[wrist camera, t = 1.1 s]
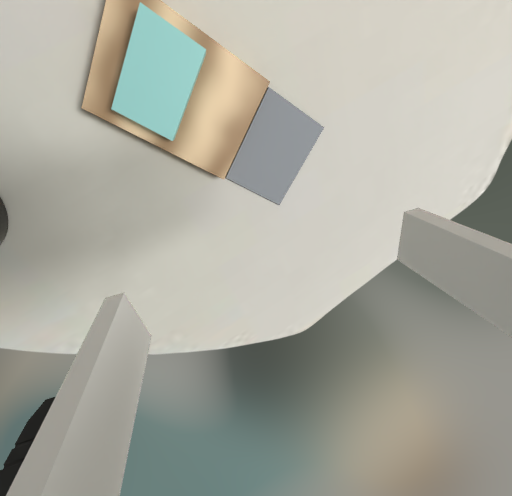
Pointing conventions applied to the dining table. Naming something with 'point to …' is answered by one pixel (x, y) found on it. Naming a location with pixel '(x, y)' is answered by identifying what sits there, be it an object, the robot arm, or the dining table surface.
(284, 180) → the mat
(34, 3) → the dining table surface
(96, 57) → the tan wooden board
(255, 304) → the dining table surface
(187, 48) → the turquoise rectangular block
